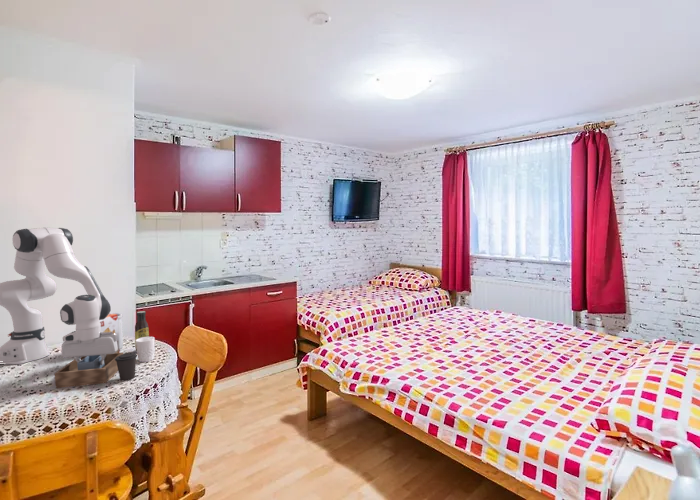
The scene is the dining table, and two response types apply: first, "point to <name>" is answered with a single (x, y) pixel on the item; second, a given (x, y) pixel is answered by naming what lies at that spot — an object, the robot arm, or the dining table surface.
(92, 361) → the small crate
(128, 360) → the coffee cup
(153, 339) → the white cup
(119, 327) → the white container
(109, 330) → the cracker box
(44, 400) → the dining table surface
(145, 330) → the sauce bottle
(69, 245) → the robot arm
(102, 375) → the big crate
